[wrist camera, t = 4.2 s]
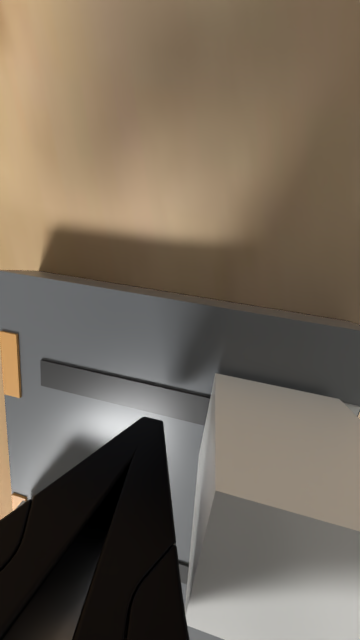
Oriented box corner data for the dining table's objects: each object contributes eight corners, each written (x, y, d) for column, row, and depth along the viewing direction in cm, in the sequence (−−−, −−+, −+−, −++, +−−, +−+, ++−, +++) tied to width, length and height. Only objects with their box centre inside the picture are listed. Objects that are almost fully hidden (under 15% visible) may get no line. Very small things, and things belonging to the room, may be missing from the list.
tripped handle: (339, 398, 7) (515, 575, 3) (308, 483, 7) (408, 708, 4) (215, 372, 7) (215, 490, 3) (198, 454, 8) (183, 624, 4)
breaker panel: (349, 321, 8) (393, 336, 6) (223, 676, 14) (225, 742, 12) (38, 270, 10) (-8, 269, 8) (46, 605, 16) (22, 652, 14)
